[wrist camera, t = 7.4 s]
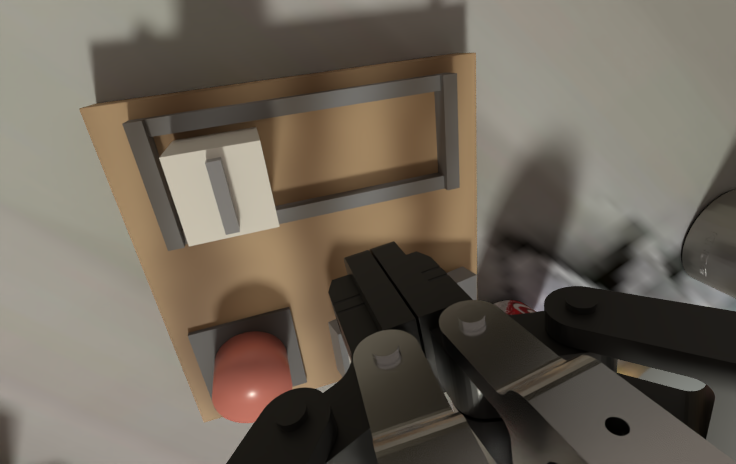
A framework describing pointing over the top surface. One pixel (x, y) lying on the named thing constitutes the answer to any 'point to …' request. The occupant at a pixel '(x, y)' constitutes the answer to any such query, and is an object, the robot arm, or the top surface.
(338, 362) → the rocker
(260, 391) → the button
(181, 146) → the slider
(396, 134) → the panel
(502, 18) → the top surface
